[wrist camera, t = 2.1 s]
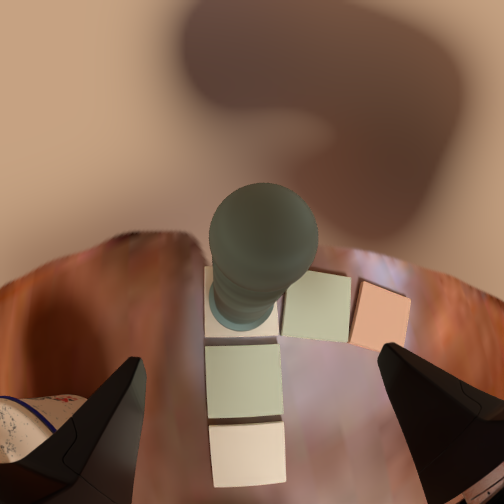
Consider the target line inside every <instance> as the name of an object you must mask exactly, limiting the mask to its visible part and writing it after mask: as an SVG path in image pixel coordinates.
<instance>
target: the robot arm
mask: <svg viewBox="0 0 504 504" xmlns="http://www.w3.org/2000/svg"><path fill="white" fill-rule="evenodd" d="M377 362H378V366H379V369H380V372H381V376H382V379H383V382H384V385H385V389H386V392H387V394H388V397H389V400H390V402H391V404H392V407H393V409H394V411H395V414H396V416H397V419H398V421H399V424H400V426H401V429H402V431H403V434H404V437H405V439H406V442H407V444H408V447H409V450H410V452H411V455H412V458H413V461H414V463H415V466H416V469H417V472H418V475H419V478H420V481H421V484H422V487H423V490H424V493H425V497H426V500H427V503H428V504H445V503H446V502H448V501H450V500H451V499H453V498H455V497H456V496H458V495H459V494H461V493H462V495H463V497H464V498H463V499H462V500H461V501H459V502H458V503H456V504H504V400H501V399H499V398H497V397H494V396H492V395H490V394H488V393H485V392H483V391H481V390H479V389H477V388H475V387H473V386H471V385H469V384H467V383H465V382H464V381H462V380H459V379H458V378H456V377H455V376H453V375H451V374H449V373H447V372H446V371H444V370H442V369H440V368H439V367H437V366H435V365H433V364H432V363H430V362H428V361H426V360H425V359H423V358H421V357H419V356H417V355H416V354H414V353H412V352H410V351H409V350H407V349H405V348H403V347H402V346H400V345H398V344H396V343H395V342H390V343H385V344H384V345H383V347H382V349H381V352H380V354H379V356H378V360H377ZM146 379H147V376H146V371H145V368H144V364H143V361H142V359H141V358H140V357H129V358H128V359H127V360H126V361H125V362H124V363H123V364H122V365H121V366H120V367H119V368H118V369H117V370H116V371H115V372H114V373H113V374H112V375H111V376H110V377H109V378H108V379H107V380H106V381H105V382H104V383H103V384H102V385H101V386H100V387H99V388H98V389H97V390H96V391H95V392H94V393H93V394H92V395H91V396H90V397H89V399H88V400H87V401H86V402H85V403H84V404H83V405H82V406H81V407H80V408H79V409H78V410H77V411H76V412H75V413H74V414H73V415H72V417H70V418H69V419H68V420H67V421H66V422H65V423H64V424H63V425H62V426H61V427H60V428H59V429H58V430H57V431H56V432H55V433H53V434H52V435H51V436H50V437H49V438H48V439H46V440H45V441H44V442H43V443H42V444H40V445H39V446H38V447H37V448H35V449H34V450H33V451H32V452H30V453H29V454H28V455H26V456H25V457H24V458H22V459H20V460H18V461H15V462H10V463H0V504H131V503H132V493H133V484H134V476H135V469H136V462H137V455H138V448H139V442H140V436H141V430H142V424H143V418H144V408H145V392H146Z"/></svg>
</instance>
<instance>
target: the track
mask: <svg viewBox="0 0 504 504" xmlns="http://www.w3.org/2000/svg"><path fill="white" fill-rule="evenodd" d="M212 282H213V266H205V271H204V311H205V337H256V336H277V335H279V326H278V312H277V301H276V302H275V303H274V308H273V310H272V312H271V314H270V316H269V317H268V319H267V320H266V321H265V322H264V323H263V324H261V325H260V326H259V327H257V328H255V329H253V330H250V331H244V332H239V331H233V330H230V329H227V328H226V327H224V326H222V325H221V324H220V323H219V322H218V321H217V320H216V319H215V318H214V316H213V314H212V312H211V309H210V305H209V290H210V287H211V284H212ZM350 298H351V278H350V277H344V276H338V275H333V274H327V273H321V272H315V271H309V270H307V272H306V273H305V274H304V275H303V276H302V277H301V278H300V279H299V280H297V281H296V282H295V283H293V284H292V285H291V286H290V287H289V288H288V289H287V290H286V293H285V302H284V310H283V319H282V327H281V335H280V336H287V337H295V338H304V339H313V340H323V341H333V342H344V343H345V342H347V343H349V344H352V345H356V346H359V347H363V348H366V349H370V350H373V351H377V352H381V349H382V347H383V345H384V344H385V343H390V342H395V343H396V344H398V345H400V346H402V347H404V341H405V336H406V330H407V324H408V318H409V311H410V304H411V299H409V298H406V297H403V296H401V295H398V294H396V293H393V292H391V291H388V290H385V289H383V288H380V287H378V286H375V285H373V284H370V283H367V282H365V281H363V282H362V283H361V284H360V289H359V294H358V299H357V304H356V308H355V313H354V317H353V321H352V325H351V330H350V334H349V319H350ZM348 334H349V338H348ZM205 361H206V387H207V406H208V418H237V417H255V416H268V415H278V414H283V395H282V376H281V359H280V344H269V345H247V346H205ZM209 436H210V449H211V461H212V472H213V482H214V487H241V486H255V485H265V484H274V483H282V482H286V464H285V437H284V422H283V421H275V422H265V423H252V424H232V425H209Z"/></svg>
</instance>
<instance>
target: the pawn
mask: <svg viewBox="0 0 504 504" xmlns="http://www.w3.org/2000/svg"><path fill="white" fill-rule="evenodd" d="M209 244H210V249H211V253H212V260H213V261H212V263H213V282H212V284H211V287H210V290H209V305H210V309H211V312H212V314H213V316H214V318H215V319H216V320H217V321H218V322H219V323H220V324H221V325H222V326H224V327H226V328H227V329H230V330H233V331H239V332H244V331H250V330H253V329H255V328H257V327H259V326H260V325H261V324H263V323H264V322H265V321H266V320H267V319H268V317H269V316H270V314H271V312H272V310H273V308H274V303H275V302H276V301H277V300H278V299H279V298H280V297H281V295H282V294H283V293H284V292H285V291H286V290H287V289H288V288H289V287H290V286H291V285H292V284H293V283H295V282H296V281H297V280H299V279H300V278H301V277H302V276H303V275H304V274H305V273H306V272H307V270H308V269H309V267H310V266H311V264H312V262H313V260H314V258H315V255H316V251H317V247H318V228H317V224H316V221H315V217H314V215H313V213H312V211H311V209H310V208H309V207H308V205H307V204H306V203H305V201H304V200H303V199H302V198H301V197H300V196H299V195H297V194H296V193H295V192H293V191H291V190H290V189H288V188H285V187H283V186H281V185H277V184H272V183H256V184H251V185H247V186H244V187H242V188H239V189H238V190H236V191H234V192H233V193H231V194H230V195H229V196H228V197H226V199H224V200H223V202H222V203H221V204H220V205H219V207H218V208H217V210H216V212H215V214H214V216H213V218H212V221H211V225H210V230H209Z"/></svg>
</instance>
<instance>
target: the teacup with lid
mask: <svg viewBox="0 0 504 504" xmlns="http://www.w3.org/2000/svg"><path fill="white" fill-rule="evenodd" d="M87 400H88V399H86V398H83V397H80V396H77V395H70V394H65V395H57V396H48V397H38V398H27V399H17V398H14V397H10V396H0V463H10V462H15V461H18V460H20V459H22V458H24V457H25V456H26V455H28V454H29V453H30V452H32V451H33V450H34V449H35V448H37V447H38V446H39V445H40V444H42V443H43V442H44V441H45V440H46V439H48V438H49V437H50V436H51V435H52V434H53V433H55V432H56V431H57V430H58V429H59V428H60V427H61V426H62V425H63V424H64V423H65V422H66V421H67V420H68V419H69V418H70V417H72V415H73V414H74V413H75V412H76V411H77V410H78V409H79V408H80V407H81V406H82V405H83V404H84V403H85V402H86V401H87Z"/></svg>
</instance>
